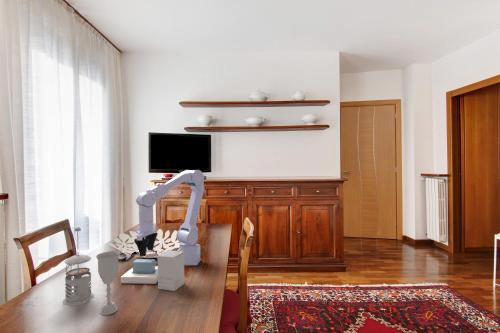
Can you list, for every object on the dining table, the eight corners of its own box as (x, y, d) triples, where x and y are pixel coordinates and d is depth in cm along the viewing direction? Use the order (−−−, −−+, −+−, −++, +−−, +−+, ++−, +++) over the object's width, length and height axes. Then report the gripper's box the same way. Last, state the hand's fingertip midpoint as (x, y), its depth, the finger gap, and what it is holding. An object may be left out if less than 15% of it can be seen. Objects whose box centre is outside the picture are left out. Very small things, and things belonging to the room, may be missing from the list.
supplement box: (185, 283, 112) (184, 251, 112) (174, 291, 105) (173, 257, 105) (168, 281, 115) (168, 249, 115) (157, 288, 108) (156, 255, 108)
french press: (70, 308, 94) (69, 232, 93) (53, 299, 100) (52, 228, 100) (100, 296, 102) (99, 226, 102) (82, 289, 108) (81, 222, 108)
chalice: (102, 305, 95) (102, 251, 95) (123, 304, 96) (123, 250, 96) (92, 317, 88) (91, 258, 88) (115, 316, 89) (114, 258, 88)
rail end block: (155, 276, 120) (155, 259, 120) (151, 279, 117) (151, 262, 117) (136, 275, 121) (136, 259, 121) (132, 279, 117) (132, 262, 117)
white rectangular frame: (166, 272, 125) (166, 266, 125) (155, 283, 113) (155, 277, 113) (134, 271, 125) (134, 266, 125) (120, 283, 113) (120, 276, 113)
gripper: (144, 217, 129) (144, 247, 129) (128, 224, 114) (129, 258, 114) (159, 217, 128) (160, 247, 129) (146, 224, 114) (146, 258, 114)
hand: (146, 252), depth 121 cm, fingers open, 7 cm apart
